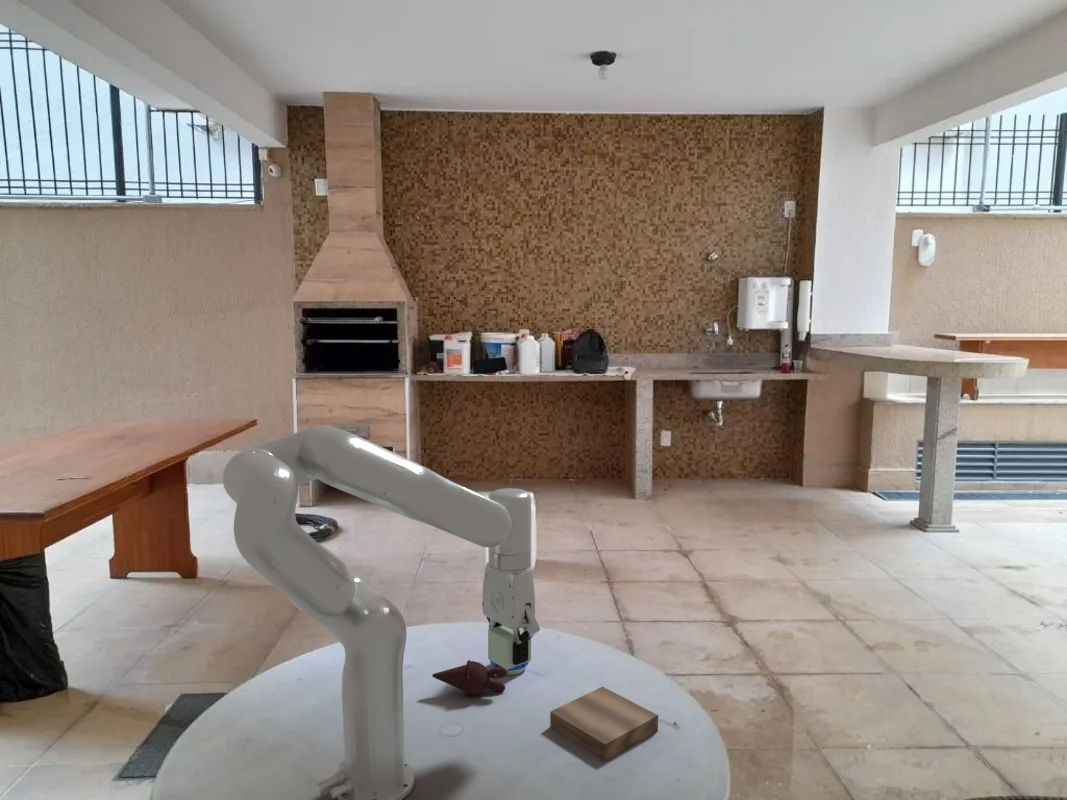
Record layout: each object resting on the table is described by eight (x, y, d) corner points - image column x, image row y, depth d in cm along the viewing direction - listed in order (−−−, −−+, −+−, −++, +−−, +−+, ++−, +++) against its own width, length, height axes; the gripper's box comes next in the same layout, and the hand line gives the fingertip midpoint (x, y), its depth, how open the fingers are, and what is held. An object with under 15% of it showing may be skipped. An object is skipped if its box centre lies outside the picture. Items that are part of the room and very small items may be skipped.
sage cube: (507, 669, 128) (507, 639, 128) (488, 658, 132) (488, 629, 132) (530, 660, 132) (531, 631, 131) (511, 650, 136) (511, 621, 135)
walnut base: (605, 760, 126) (605, 744, 125) (550, 726, 136) (550, 711, 136) (657, 730, 135) (658, 715, 134) (602, 700, 145) (602, 686, 145)
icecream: (430, 674, 143) (507, 679, 144) (435, 648, 150) (508, 654, 151) (429, 702, 146) (504, 707, 146) (433, 675, 153) (505, 681, 153)
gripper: (464, 551, 134) (464, 646, 136) (524, 576, 121) (524, 680, 123) (496, 543, 139) (496, 635, 141) (558, 566, 126) (557, 667, 128)
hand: (509, 655), depth 132 cm, fingers closed on sage cube, 5 cm apart
